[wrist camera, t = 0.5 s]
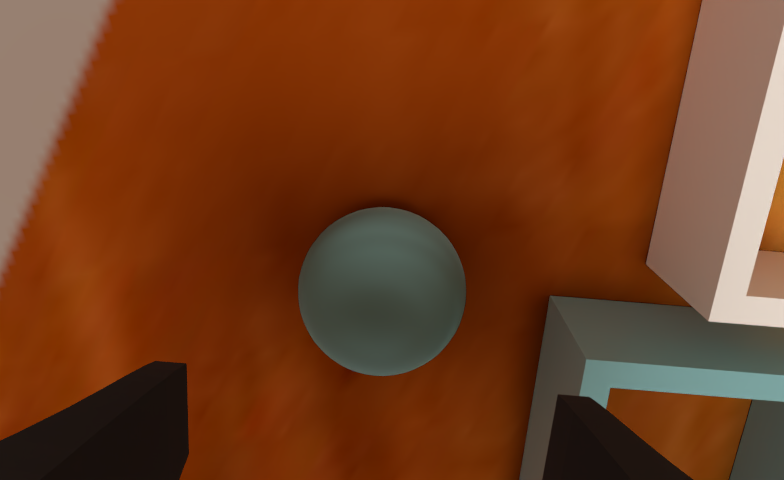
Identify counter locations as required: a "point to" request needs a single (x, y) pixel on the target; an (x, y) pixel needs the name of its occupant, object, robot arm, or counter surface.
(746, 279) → the shallow white tray
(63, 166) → the counter surface
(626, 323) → the teal open square box
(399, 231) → the teal ball
